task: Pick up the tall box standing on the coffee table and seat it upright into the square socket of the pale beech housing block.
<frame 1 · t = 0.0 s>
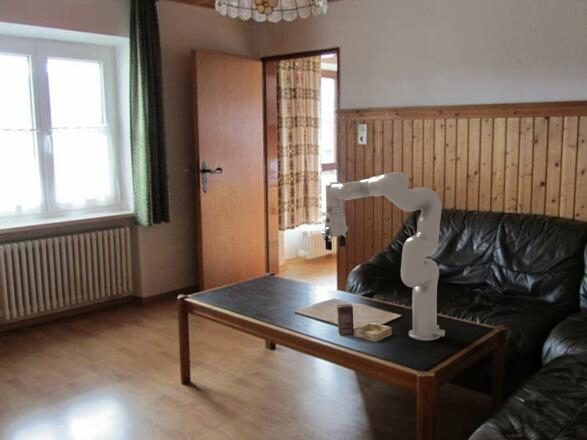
hand: (335, 248, 271), 31 cm above the table, tool pointing down, fingers open, 9 cm apart
box: (345, 334, 251), on the table
housing: (372, 335, 248), on the table
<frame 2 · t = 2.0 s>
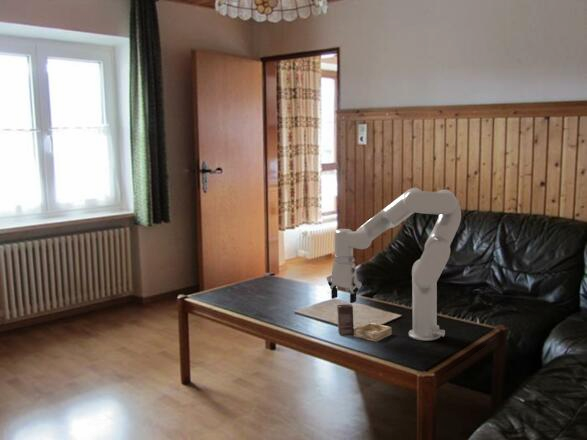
hand: (343, 300, 249), 14 cm above the table, tool pointing down, fingers open, 9 cm apart
nothing on the table moved.
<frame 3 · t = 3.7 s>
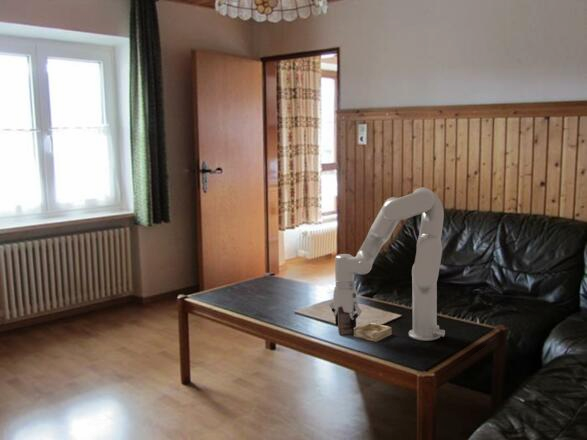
hand: (345, 325, 251), 3 cm above the table, tool pointing down, fingers closed on box, 6 cm apart
box: (345, 333, 251), on the table, touching gripper
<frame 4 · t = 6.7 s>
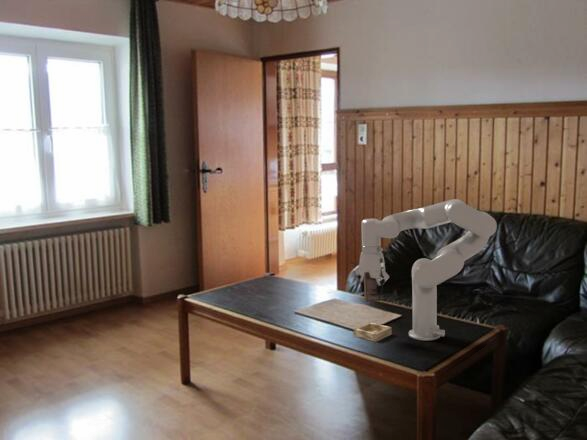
hand: (372, 292, 245), 18 cm above the table, tool pointing down, fingers closed on box, 6 cm apart
box: (372, 300, 246), point 15 cm above the table, touching gripper
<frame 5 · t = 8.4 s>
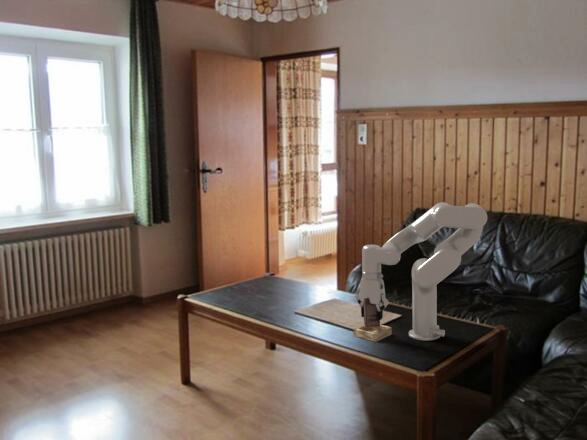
hand: (371, 317, 247), 7 cm above the table, tool pointing down, fingers closed on box, 6 cm apart
box: (371, 325, 247), point 4 cm above the table, touching gripper
when the fingers open (5 cm above the table, at t = 10.0 s): box stays where it is, resting on housing.
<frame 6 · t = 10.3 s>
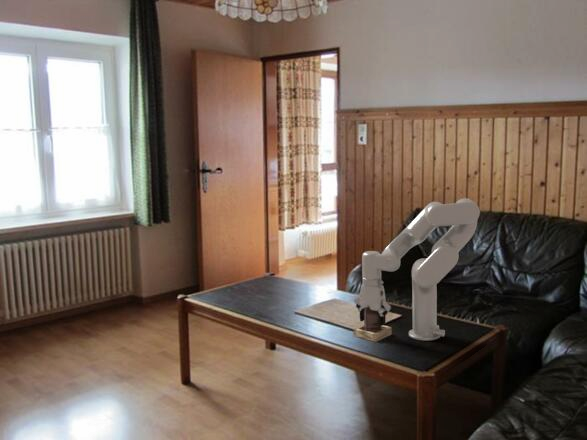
hand: (372, 322, 247), 5 cm above the table, tool pointing down, fingers open, 9 cm apart
box: (372, 334, 248), resting on housing
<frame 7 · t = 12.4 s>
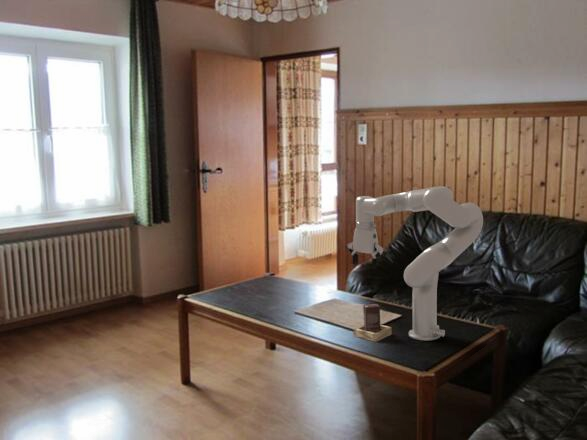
hand: (365, 265, 256), 26 cm above the table, tool pointing down, fingers open, 9 cm apart
nothing on the table moved.
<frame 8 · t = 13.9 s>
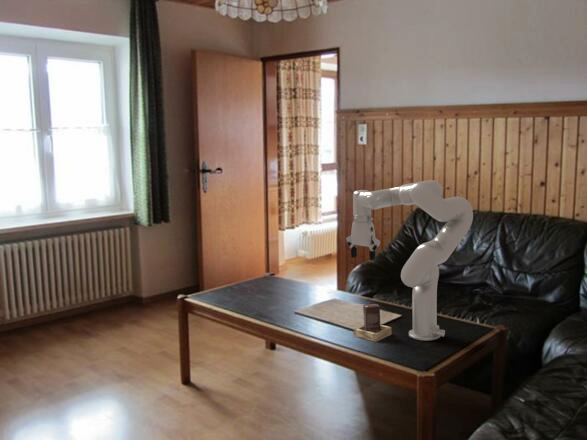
hand: (363, 258, 261), 28 cm above the table, tool pointing down, fingers open, 9 cm apart
nothing on the table moved.
at the end: box 0.3 cm off-centre on the housing, point 0.3 cm above the housing's base; box tilted 0°; the gripper is holding nothing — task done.
